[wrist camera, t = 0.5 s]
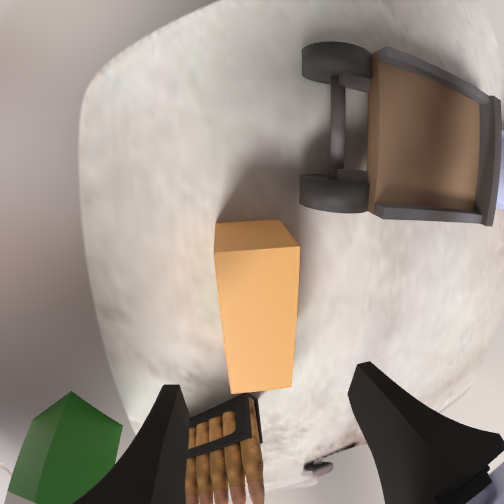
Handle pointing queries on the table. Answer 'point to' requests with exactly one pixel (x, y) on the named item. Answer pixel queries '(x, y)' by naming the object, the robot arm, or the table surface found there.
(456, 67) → the table surface
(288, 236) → the block
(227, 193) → the table surface
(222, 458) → the ammunition clip
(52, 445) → the hardback book
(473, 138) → the dolly
